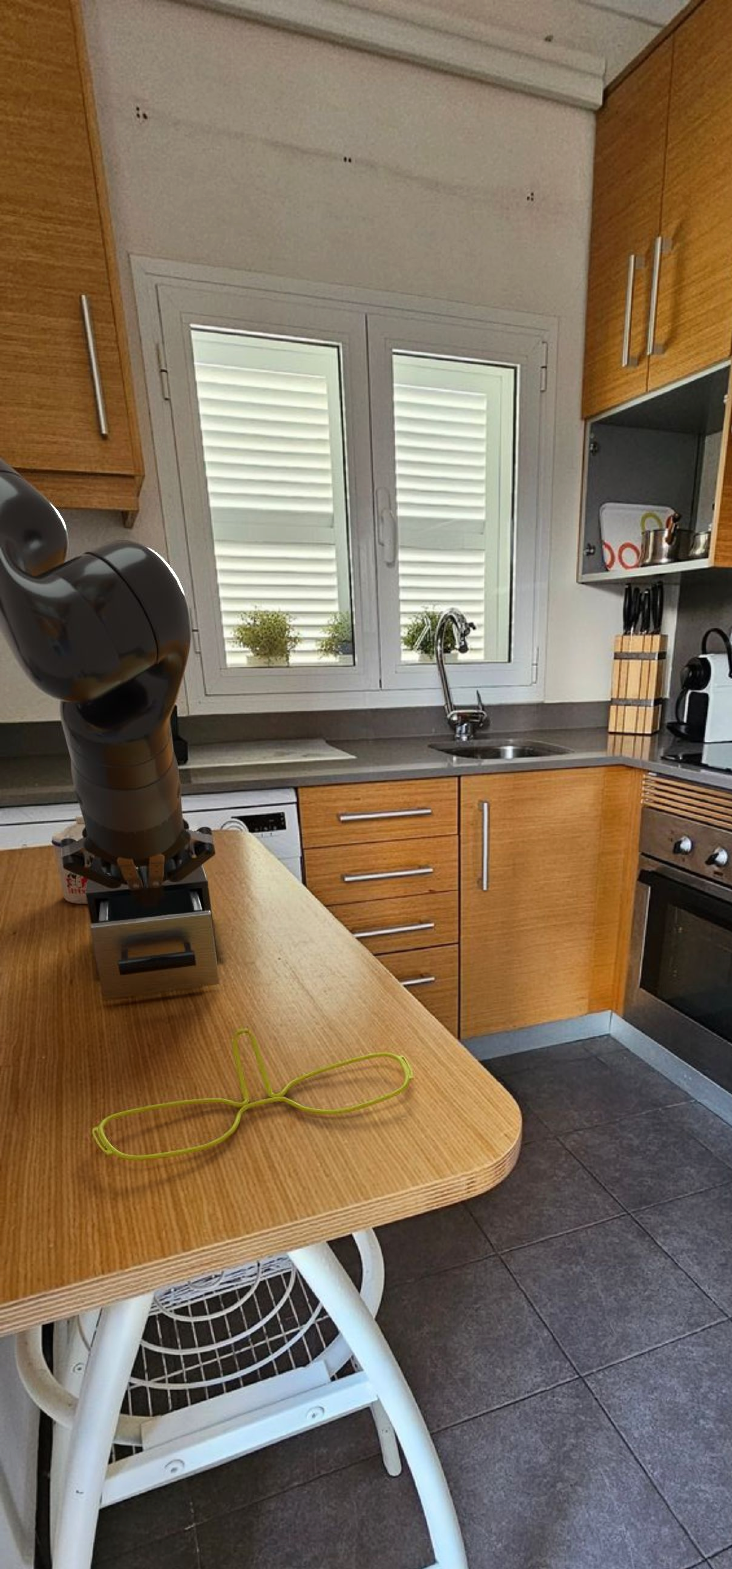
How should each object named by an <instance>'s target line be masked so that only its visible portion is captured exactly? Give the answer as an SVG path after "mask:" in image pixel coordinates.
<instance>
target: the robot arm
mask: <svg viewBox="0 0 732 1569" xmlns="http://www.w3.org/2000/svg"><path fill="white" fill-rule="evenodd" d="M68 534H69V533H68V530H67V526H66V523H65V521H64V519H63V517H62V516H61V514H60V512H59V511H58V509H56V507H55V506H54V504H52V503H51V501H50V499H48V498H47V497H46V496H44V495H43V494H42V492H40V491H39V490H38V489H37V488H36V487H35V486H34V485H33V484H31V483H30V482H29V480H27V479H26V478H25V477H24V476H22V474H20V473H19V472H18V471H17V470H16V469H15V468H14V467H13V466H11V465H10V464H9V463H8V462H6V461H5V460H4V458H2V457H1V456H0V633H1V635H2V637H3V639H4V641H5V642H6V643H7V646H8V648H9V649H10V651H11V653H12V655H13V657H14V659H15V660H16V662H17V664H18V665H19V667H20V668H21V670H22V671H23V673H24V674H25V676H26V678H28V679H29V681H30V682H31V683H32V684H33V685H34V686H35V687H36V688H37V689H39V690H40V691H42V692H43V693H45V695H47V696H50V697H51V698H54V699H56V700H59V716H60V721H61V726H62V730H63V733H64V734H63V735H64V737H65V742H66V745H67V748H68V749H67V750H68V753H69V756H70V757H69V758H70V769H71V771H70V772H71V778H72V782H73V785H74V790H73V792H74V795H75V798H76V800H77V802H78V804H79V805H78V806H79V809H80V812H81V815H82V816H83V820H84V823H85V827H84V829H83V831H82V836H83V838H81V839H80V840H78V841H76V840H74V839H72V838H65V839H63V840H61V855H62V861H63V868H64V869H66V870H68V871H70V872H73V873H75V874H77V875H80V876H82V877H85V878H87V879H89V880H92V881H94V882H96V883H99V884H101V885H103V886H106V887H108V888H111V889H115V888H119V887H120V886H121V884H125V885H128V887H129V888H130V890H131V895H132V900H133V901H134V902H141V906H142V907H143V906H149V903H150V906H153V905H158V904H157V900H162V899H163V898H164V891H163V882H164V881H166V880H169V881H171V882H179V881H181V880H183V879H184V878H185V877H187V876H188V875H189V874H190V873H192V872H193V871H194V870H196V869H197V868H198V867H200V866H201V865H202V866H203V865H204V864H205V863H207V862H208V861H209V860H210V859H212V858H213V857H214V856H215V855H216V848H215V843H214V836H213V832H212V828H210V827H209V826H201V827H198V829H196V830H194V829H190V825H189V822H188V821H187V820H186V819H185V818H184V815H183V814H184V813H183V804H182V803H183V802H182V783H181V779H180V769H179V765H178V764H179V763H178V760H177V757H176V754H175V750H174V741H173V739H174V738H173V728H172V722H171V720H172V719H171V716H172V713H173V711H174V708H175V706H176V703H177V700H178V696H179V693H180V689H181V686H182V682H183V678H184V675H185V671H186V669H187V664H188V659H189V656H190V655H189V654H190V650H191V643H192V620H191V613H190V607H189V604H188V600H187V596H186V594H185V591H184V589H183V587H182V584H181V582H180V580H179V578H178V576H177V575H176V573H175V571H174V570H173V568H171V567H170V565H169V564H168V563H167V562H166V561H165V559H164V558H163V557H162V556H161V555H160V554H158V553H157V552H155V550H153V549H152V548H150V547H148V545H145V544H143V543H140V542H137V541H134V540H130V539H125V540H124V539H118V540H111V541H107V542H105V543H102V544H100V545H97V546H96V547H93V548H92V549H89V550H88V551H85V552H83V553H82V554H80V555H78V556H75V557H73V558H71V559H69V560H67V557H68V553H69V547H70V546H69V545H70V544H69V535H68ZM180 860H182V862H181V864H180ZM140 866H146V867H144V869H143V868H141V867H140ZM102 867H103V868H105V872H104V871H103V870H102ZM144 871H145V875H144ZM145 878H146V880H145ZM146 885H147V886H146ZM147 891H148V893H147ZM148 897H149V900H148Z"/></svg>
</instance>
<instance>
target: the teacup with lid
mask: <svg viewBox="0 0 732 1569" xmlns="http://www.w3.org/2000/svg"><path fill="white" fill-rule="evenodd" d="M74 820H75V822H74V823H71V824H69V825H67V827H66V828H65V829H63V830H60V831H58V832H56V833H54V834H53V835H52V837H51V844H52V845H53V847H54V852H55V857H56V862H57V867H58V873H59V877H60V883H61V889H62V894H63V898H64V900H65V901H66V902H68V903H72V904H76V905H88V904H87V898H86V888H87V881H88V879H87V878H85V877H82V876H80V875H77V874H75V873H73V872H70V871H68V870H66V869H64V868H63V861H62V855H61V840H63V839H65V838H72V839H74V840H76V841H78V840H80V839H81V838H83V836H82V831H83V829H84V827H85V823H84V820H83V816H82V814H79V815H76V816H75V818H74Z"/></svg>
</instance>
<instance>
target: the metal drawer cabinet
mask: <svg viewBox="0 0 732 1569" xmlns="http://www.w3.org/2000/svg"><path fill="white" fill-rule="evenodd" d="M181 862H182V860H180V864H181ZM140 867H141V868H143V869H144V867H146V866H140ZM102 870H103V871H104V872H105V868H103V867H102ZM144 875H145V871H144ZM145 880H146V878H145ZM146 886H147V885H146ZM188 889H196V890H197V894H198V897H199V901H200V904H201V908H202V911H210V913H211V919H212V927H213V935H214V943H215V950H216V958H217V962H218V961H219V958H218V951H217V950H218V949H217V943H216V935H215V934H216V933H215V928H214V919H213V912H212V911H213V910H212V904H211V896H210V888H209V881H208V877H207V875H206V871H205V869H204V866H203V864H202V865H201V866H200V867H198V868H197V869H196V870H194V871H193V872H192V873H190V874H189V875H188V876H187V877H185V878H184V879H183V880H181V881H179V882H171V881H169V880H166V881H164V882H163V891H164V892H169V891H178V890H188ZM147 893H148V891H147ZM130 895H131V890H130V888H129V887H128V885H125V884H121V886H120V887H119V888H115V889H111V888H108V887H106V886H103V885H101V884H99V883H96V882H94V881H92V880H89V879H88V881H87V888H86V898H87V904H86V905H87V908H88V914H89V919H90V920H89V921H90V925H91V924H94V923H99V913H100V902H101V898H111V897H121V896H130Z"/></svg>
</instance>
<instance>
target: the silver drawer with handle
mask: <svg viewBox="0 0 732 1569" xmlns="http://www.w3.org/2000/svg"><path fill="white" fill-rule="evenodd" d="M148 900H149V897H148ZM157 904H158V905H153V906H150V903H149V906H143V907H142V906H141V902H134V901H133V900H132V895H130V896H121V897H111V898H101V902H100V913H99V923H94V924H91V923H90V926H89V930H90V934H91V941H92V945H93V950H94V956H95V962H96V968H97V972H98V979H99V984H100V989H101V995H102V999H103V1001H109V1000H114V999H115V1000H116V999H124V998H131V997H137V996H143V995H144V996H145V995H151V994H158V993H165V992H173V991H180V990H186V989H193V988H200V987H201V988H202V987H208V986H215V985H220V984H221V983H220V982H221V981H220V976H219V967H218V961H217V958H218V957H217V958H216V950H217V949H216V950H215V943H214V935H213V927H214V926H213V927H212V919H213V918H212V919H211V913H210V911H202V908H201V904H200V901H199V897H198V894H197V890H196V889H188V890H178V891H169V892H164V898H163V899H162V900H157Z"/></svg>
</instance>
